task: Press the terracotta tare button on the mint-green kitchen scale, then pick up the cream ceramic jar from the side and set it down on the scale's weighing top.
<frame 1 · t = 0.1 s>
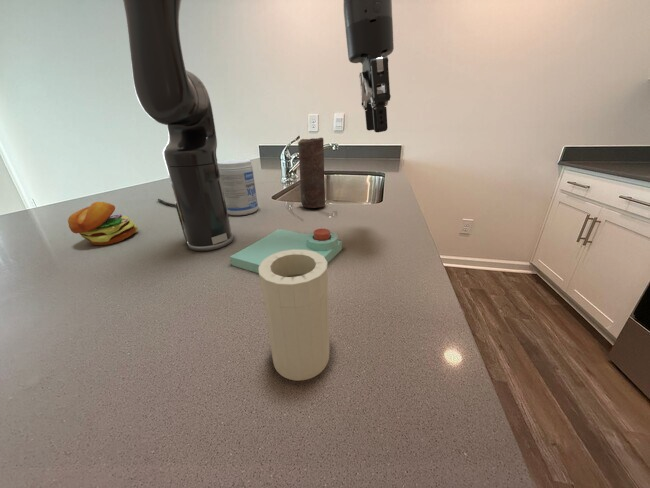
hand: (376, 130, 48), 22 cm above the counter, tool pointing down, fingers open, 8 cm apart
jar: (301, 355, 29), on the counter
candle: (313, 208, 80), on the counter
tare button: (321, 235, 51), point 4 cm above the counter, slide at 0.1 cm
scale: (289, 256, 51), on the counter
supplement tub: (242, 211, 78), on the counter
cheeseburger: (111, 239, 61), on the counter
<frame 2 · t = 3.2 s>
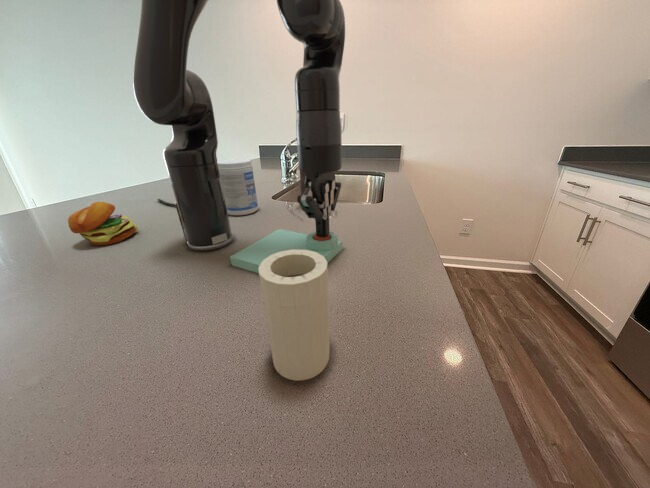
hand: (322, 235, 51), 4 cm above the counter, tool pointing down, fingers closed
tare button: (322, 239, 51), point 3 cm above the counter, slide at -0.8 cm, touching gripper
everything else where it was.
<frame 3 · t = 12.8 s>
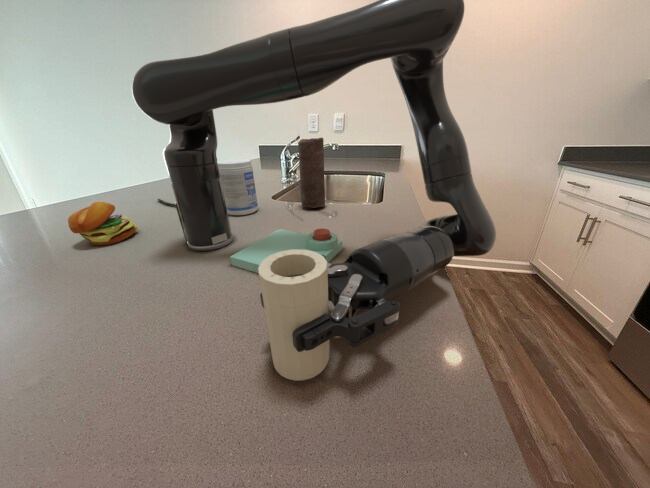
hand: (277, 320, 25), 7 cm above the counter, tool horizontal, fingers closed on jar, 6 cm apart
jar: (301, 355, 29), on the counter, touching gripper
tare button: (321, 235, 51), point 4 cm above the counter, slide at 0.1 cm
everything else where it was.
when the fingers open (8 cm above the counter, at t = 21.0 s): jar stays where it is, resting on scale.
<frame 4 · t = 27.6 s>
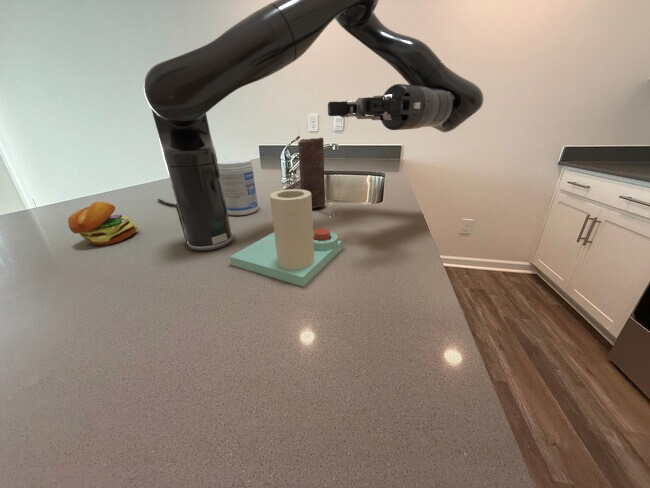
hand: (345, 107, 41), 26 cm above the counter, tool horizontal, fingers open, 8 cm apart
jar: (296, 260, 46), point 2 cm above the counter, touching scale
everything else where it was.
at the end: tare button pushed in 1.0 cm at the most during the clip, back to where it started at the end; jar inside the target area on the scale (0.1 cm from its centre), point 1.9 cm above the scale's base; jar tilted 0° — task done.
